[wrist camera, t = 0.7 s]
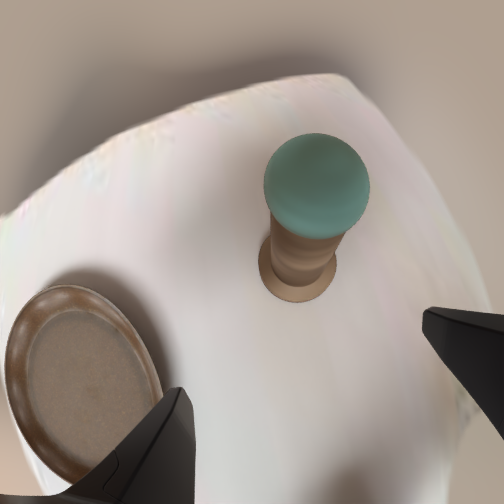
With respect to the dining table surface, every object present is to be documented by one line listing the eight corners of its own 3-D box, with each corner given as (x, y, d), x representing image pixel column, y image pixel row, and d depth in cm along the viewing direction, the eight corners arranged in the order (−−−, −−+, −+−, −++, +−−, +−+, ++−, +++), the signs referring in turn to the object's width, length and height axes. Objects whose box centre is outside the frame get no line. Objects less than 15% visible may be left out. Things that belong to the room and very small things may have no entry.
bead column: (347, 272, 22) (425, 172, 9) (289, 317, 21) (318, 257, 8) (302, 218, 25) (324, 89, 12) (244, 257, 23) (213, 139, 10)
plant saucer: (217, 358, 21) (208, 358, 18) (138, 516, 14) (124, 529, 11) (61, 261, 25) (43, 251, 22) (11, 402, 19) (-7, 402, 16)
